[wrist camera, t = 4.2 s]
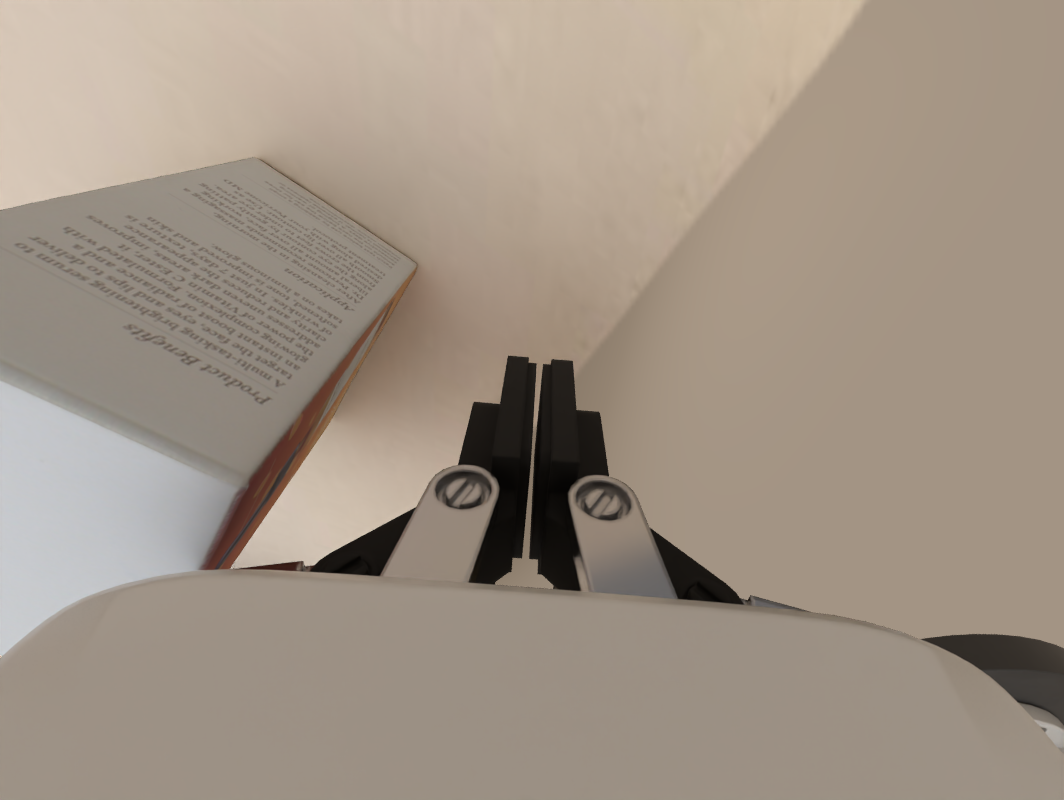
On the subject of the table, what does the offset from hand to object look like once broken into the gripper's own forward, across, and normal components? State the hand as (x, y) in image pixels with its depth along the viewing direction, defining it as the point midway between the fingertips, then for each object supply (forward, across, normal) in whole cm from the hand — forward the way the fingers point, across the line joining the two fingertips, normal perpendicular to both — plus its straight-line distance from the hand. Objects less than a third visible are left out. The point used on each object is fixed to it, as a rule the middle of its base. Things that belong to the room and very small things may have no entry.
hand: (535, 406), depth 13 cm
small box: (+5, +8, 0) cm, 10 cm away
